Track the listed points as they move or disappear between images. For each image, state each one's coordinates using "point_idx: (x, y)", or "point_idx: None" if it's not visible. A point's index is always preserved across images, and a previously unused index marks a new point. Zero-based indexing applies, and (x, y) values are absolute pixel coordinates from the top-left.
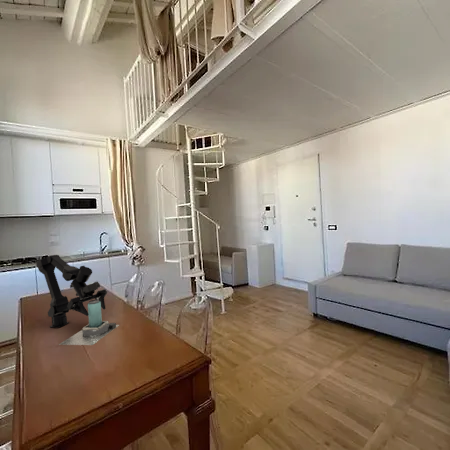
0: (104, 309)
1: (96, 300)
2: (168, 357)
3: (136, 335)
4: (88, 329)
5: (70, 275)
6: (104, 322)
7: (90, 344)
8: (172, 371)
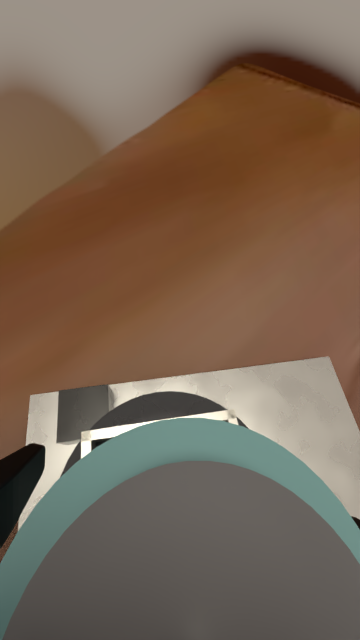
0: (41, 463)
1: (137, 599)
2: (269, 108)
3: (152, 239)
4: None
5: None
6: None
7: (330, 374)
8: (316, 91)
